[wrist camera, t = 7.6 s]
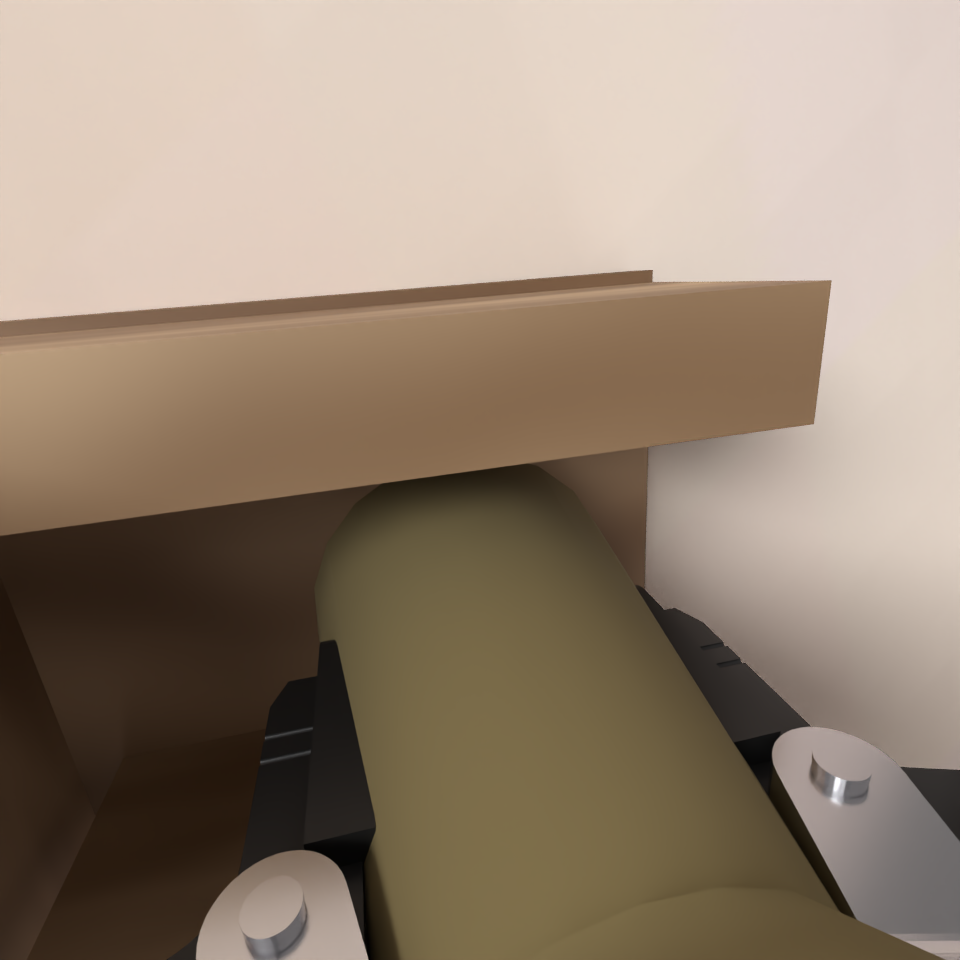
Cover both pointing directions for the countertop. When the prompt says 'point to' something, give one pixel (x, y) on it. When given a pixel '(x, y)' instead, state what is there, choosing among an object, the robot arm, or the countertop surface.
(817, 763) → the robot arm
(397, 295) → the wooden stand
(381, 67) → the countertop surface
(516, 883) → the olive rounded bulb piece
